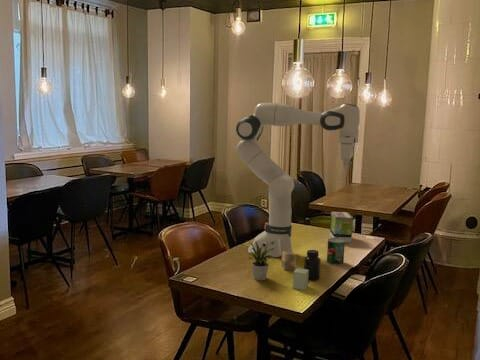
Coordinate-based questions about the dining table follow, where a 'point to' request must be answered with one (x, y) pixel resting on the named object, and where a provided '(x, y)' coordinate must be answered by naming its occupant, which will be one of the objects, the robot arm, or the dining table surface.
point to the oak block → (288, 260)
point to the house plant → (260, 262)
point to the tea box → (341, 226)
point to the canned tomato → (335, 251)
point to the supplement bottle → (312, 265)
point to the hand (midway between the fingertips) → (346, 167)
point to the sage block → (300, 279)
